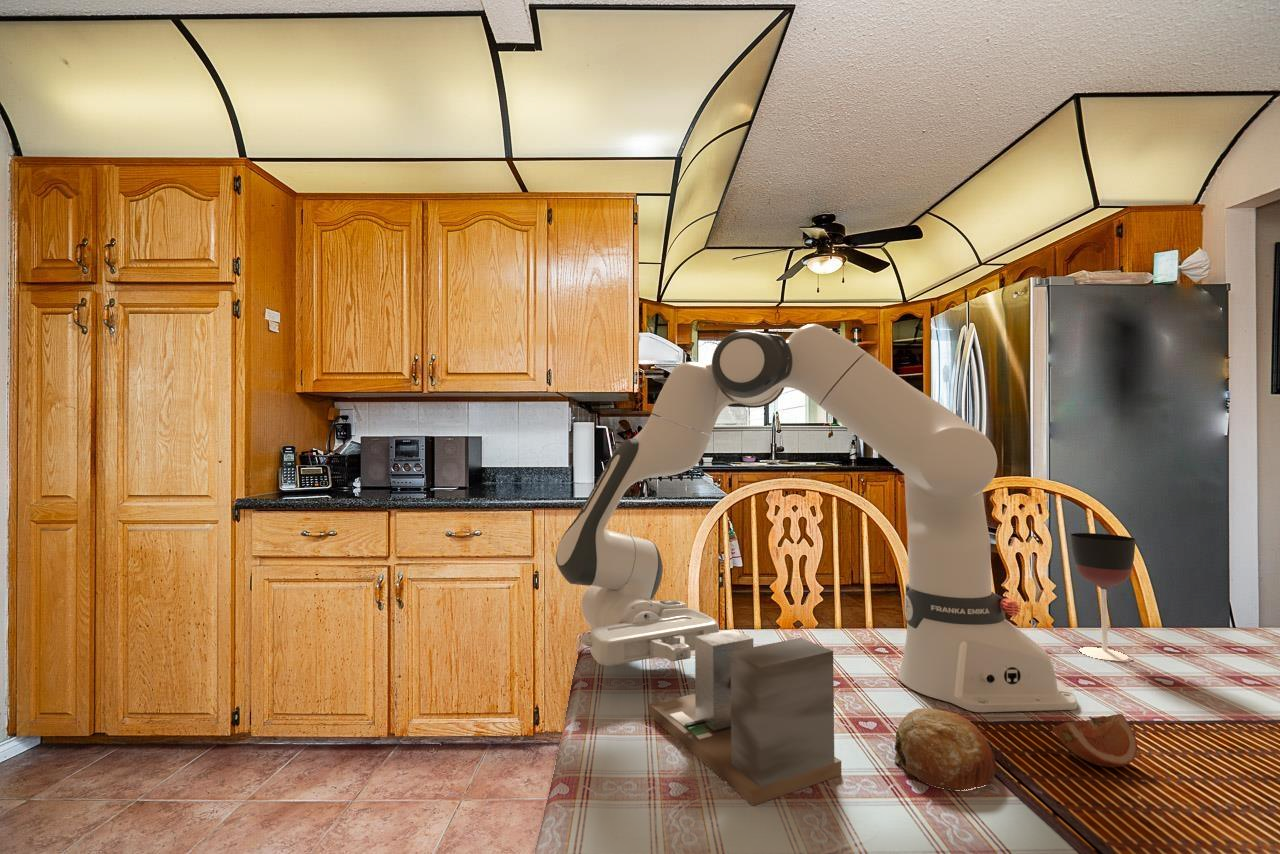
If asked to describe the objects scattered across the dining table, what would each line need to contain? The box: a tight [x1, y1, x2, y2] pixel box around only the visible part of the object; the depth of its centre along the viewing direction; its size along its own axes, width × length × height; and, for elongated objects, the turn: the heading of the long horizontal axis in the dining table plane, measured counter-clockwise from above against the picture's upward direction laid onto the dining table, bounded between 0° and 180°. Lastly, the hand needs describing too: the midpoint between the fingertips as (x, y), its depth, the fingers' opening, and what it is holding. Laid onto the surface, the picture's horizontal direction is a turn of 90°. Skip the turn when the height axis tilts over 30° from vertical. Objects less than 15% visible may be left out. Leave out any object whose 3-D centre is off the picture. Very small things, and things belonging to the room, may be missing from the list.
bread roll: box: [893, 707, 997, 791], centre depth 66 cm, size 10×10×8 cm
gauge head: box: [685, 628, 754, 731], centre depth 71 cm, size 7×9×10 cm
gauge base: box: [648, 637, 842, 807], centre depth 71 cm, size 22×12×14 cm, turn 27°
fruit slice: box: [1052, 713, 1138, 768], centre depth 67 cm, size 8×7×5 cm
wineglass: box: [1070, 532, 1136, 660], centre depth 101 cm, size 8×9×20 cm
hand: (681, 654), depth 82 cm, fingers closed
